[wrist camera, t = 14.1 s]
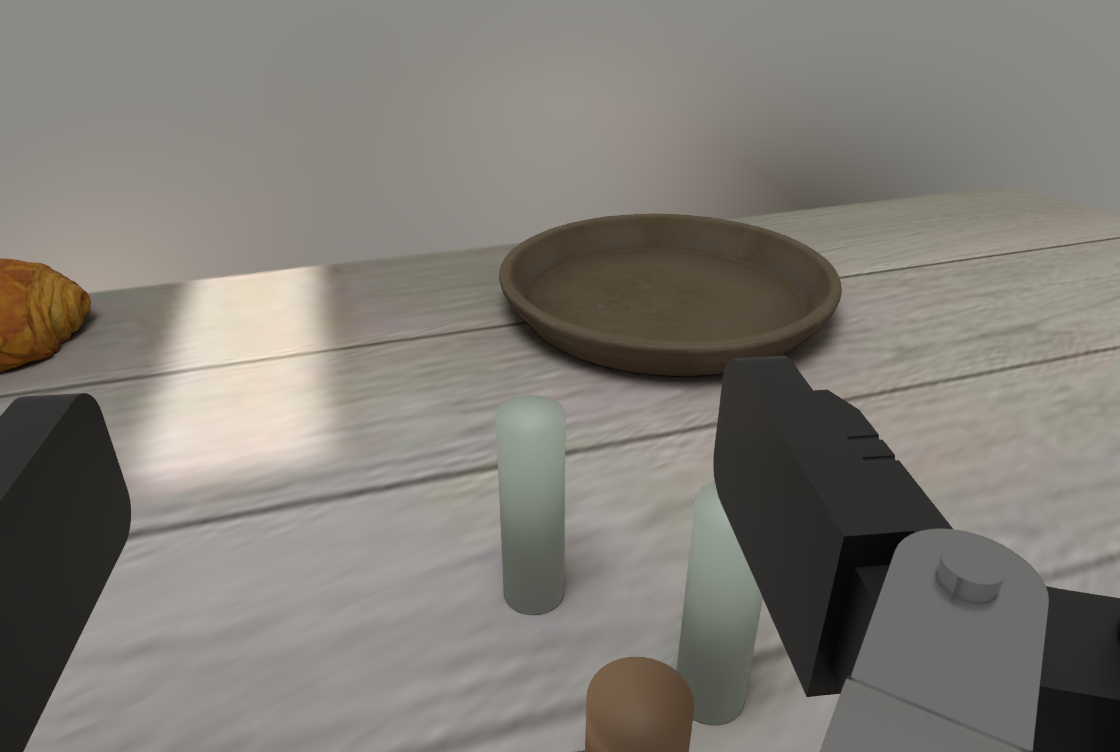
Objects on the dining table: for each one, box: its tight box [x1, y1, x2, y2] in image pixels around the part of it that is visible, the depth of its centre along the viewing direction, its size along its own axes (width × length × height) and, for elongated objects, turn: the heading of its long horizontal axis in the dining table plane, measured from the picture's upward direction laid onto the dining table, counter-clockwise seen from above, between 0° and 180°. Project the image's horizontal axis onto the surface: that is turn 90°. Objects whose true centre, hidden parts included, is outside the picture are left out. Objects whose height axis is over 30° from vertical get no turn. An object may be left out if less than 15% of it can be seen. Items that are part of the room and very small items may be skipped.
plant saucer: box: [499, 214, 842, 376], centre depth 77 cm, size 31×31×5 cm
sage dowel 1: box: [496, 395, 565, 615], centre depth 44 cm, size 3×3×12 cm
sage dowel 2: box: [677, 481, 763, 725], centre depth 38 cm, size 3×3×12 cm
